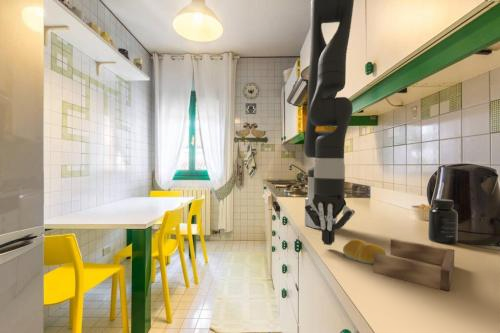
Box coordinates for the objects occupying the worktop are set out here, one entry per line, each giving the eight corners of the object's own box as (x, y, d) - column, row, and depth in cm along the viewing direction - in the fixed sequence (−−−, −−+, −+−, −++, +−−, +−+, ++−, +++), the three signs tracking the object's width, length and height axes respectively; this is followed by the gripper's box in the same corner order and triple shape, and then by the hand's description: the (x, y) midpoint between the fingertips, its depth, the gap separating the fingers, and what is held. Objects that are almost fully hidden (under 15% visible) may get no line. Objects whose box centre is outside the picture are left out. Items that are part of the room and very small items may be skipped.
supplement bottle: (423, 237, 80) (424, 197, 80) (447, 238, 79) (448, 198, 79) (437, 244, 73) (437, 200, 73) (463, 245, 72) (464, 201, 72)
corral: (373, 271, 53) (373, 254, 53) (391, 253, 65) (391, 238, 65) (448, 291, 45) (449, 271, 45) (454, 266, 57) (454, 249, 57)
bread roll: (377, 268, 55) (377, 249, 55) (338, 256, 62) (338, 240, 62) (392, 259, 61) (393, 242, 61) (355, 249, 67) (355, 234, 67)
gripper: (360, 177, 65) (359, 246, 66) (312, 175, 74) (311, 236, 74) (349, 178, 60) (348, 253, 60) (298, 175, 68) (297, 242, 69)
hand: (327, 244), depth 67 cm, fingers closed
